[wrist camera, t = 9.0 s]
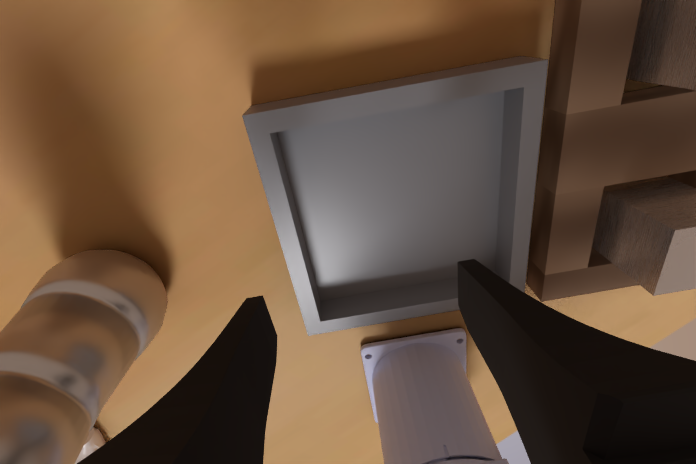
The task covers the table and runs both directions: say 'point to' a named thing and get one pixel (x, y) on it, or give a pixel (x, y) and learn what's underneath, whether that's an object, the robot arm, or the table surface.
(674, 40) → the block
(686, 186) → the block
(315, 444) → the table surface
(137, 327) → the plastic bottle
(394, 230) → the tray
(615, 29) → the wooden board with recesses
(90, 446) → the sitting furry creature
